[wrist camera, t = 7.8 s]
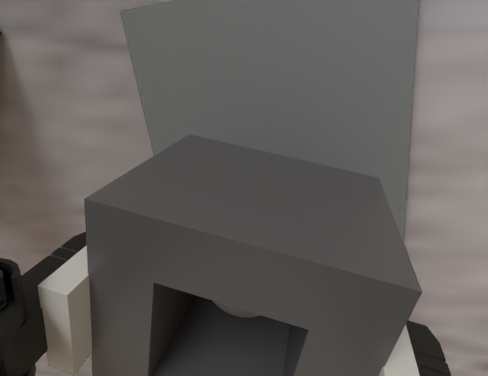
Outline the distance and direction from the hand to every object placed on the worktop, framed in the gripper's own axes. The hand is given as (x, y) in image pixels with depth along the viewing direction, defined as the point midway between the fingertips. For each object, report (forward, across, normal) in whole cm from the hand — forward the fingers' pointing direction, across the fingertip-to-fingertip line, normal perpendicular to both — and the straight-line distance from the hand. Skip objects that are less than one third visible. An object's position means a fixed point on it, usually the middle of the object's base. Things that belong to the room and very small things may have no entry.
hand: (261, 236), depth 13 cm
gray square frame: (0, 0, 0) cm, 0 cm away
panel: (+5, 0, 0) cm, 5 cm away
